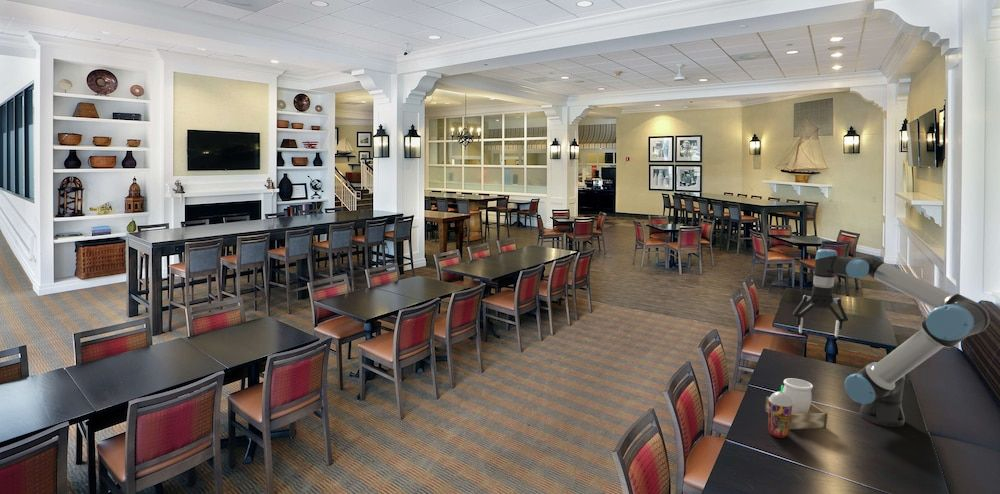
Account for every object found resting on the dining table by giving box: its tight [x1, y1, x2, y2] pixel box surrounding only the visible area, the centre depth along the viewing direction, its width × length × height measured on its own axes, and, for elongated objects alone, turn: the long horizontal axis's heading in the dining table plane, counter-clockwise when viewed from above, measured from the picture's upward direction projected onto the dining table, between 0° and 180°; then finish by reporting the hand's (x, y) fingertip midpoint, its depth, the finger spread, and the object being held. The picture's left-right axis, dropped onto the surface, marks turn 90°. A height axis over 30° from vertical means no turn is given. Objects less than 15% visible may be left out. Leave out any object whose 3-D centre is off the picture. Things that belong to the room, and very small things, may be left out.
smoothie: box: [767, 384, 793, 439], centre depth 208 cm, size 8×8×20 cm
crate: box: [764, 396, 828, 430], centre depth 222 cm, size 16×17×6 cm
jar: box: [783, 377, 814, 414], centre depth 222 cm, size 11×10×15 cm
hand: (818, 334), depth 232 cm, fingers open, 13 cm apart
